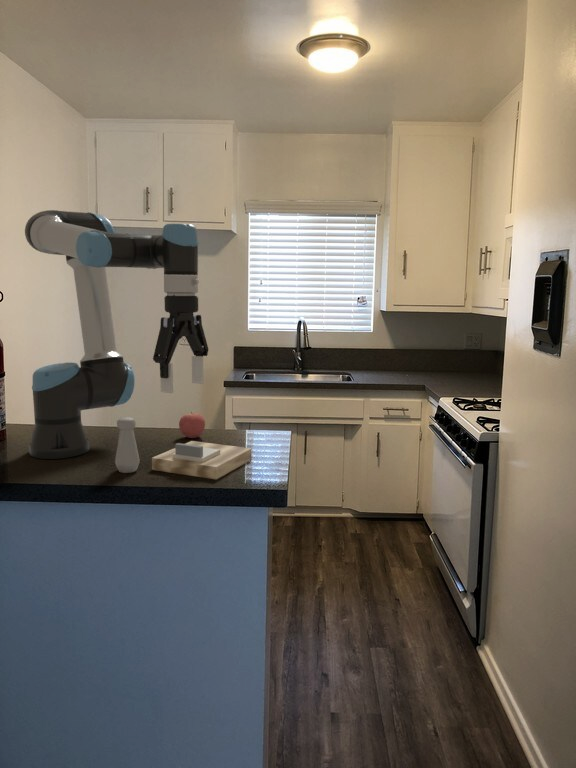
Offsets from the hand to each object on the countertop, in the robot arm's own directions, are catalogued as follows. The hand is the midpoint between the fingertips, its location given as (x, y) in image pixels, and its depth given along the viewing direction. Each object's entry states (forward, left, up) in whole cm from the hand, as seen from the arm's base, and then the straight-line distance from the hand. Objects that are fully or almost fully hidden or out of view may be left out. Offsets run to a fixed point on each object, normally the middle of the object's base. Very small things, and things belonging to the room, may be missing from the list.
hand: (183, 387), depth 144 cm
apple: (-18, +32, -22) cm, 43 cm away
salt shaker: (-15, -2, -21) cm, 26 cm away
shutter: (-1, +7, -18) cm, 19 cm away
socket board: (-1, +10, -21) cm, 23 cm away
